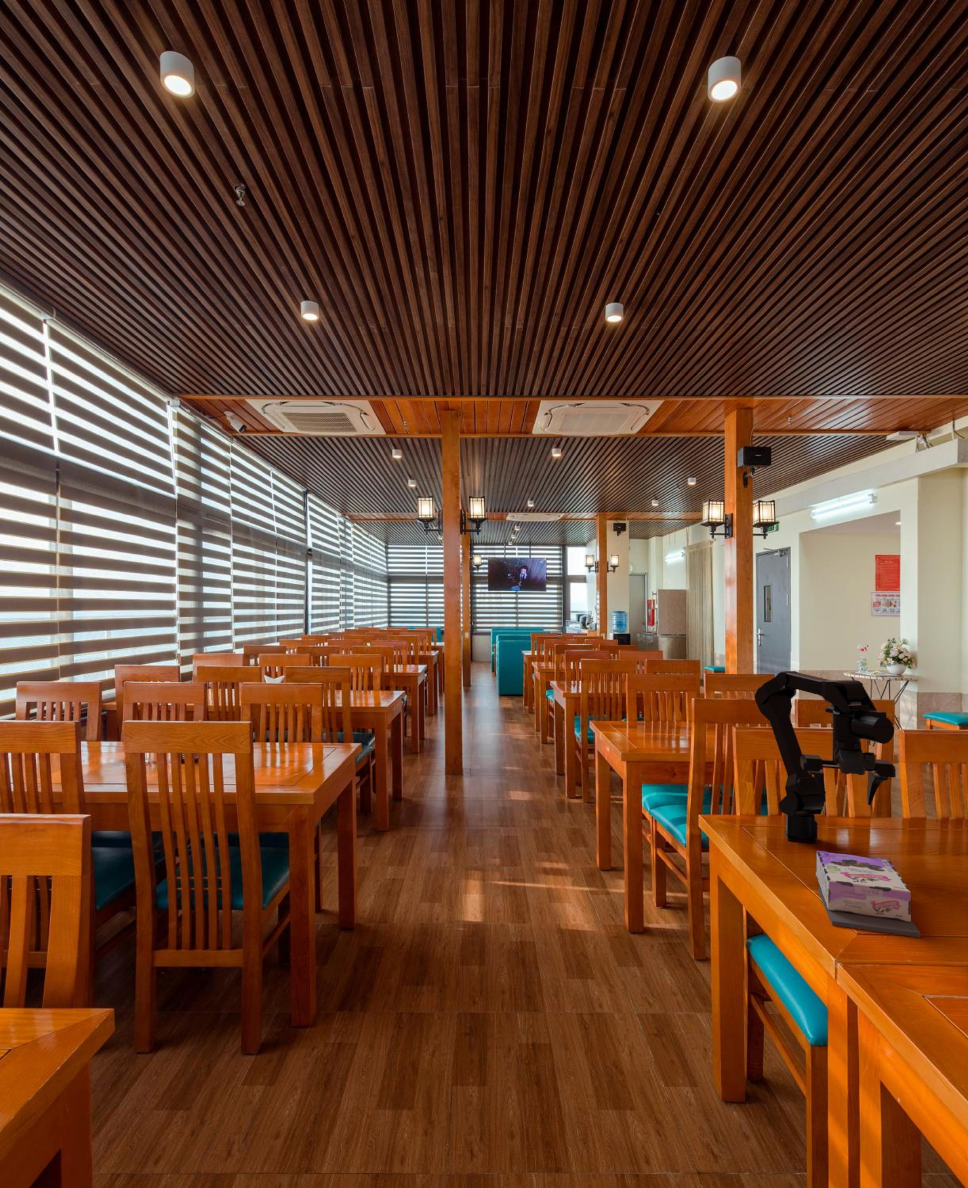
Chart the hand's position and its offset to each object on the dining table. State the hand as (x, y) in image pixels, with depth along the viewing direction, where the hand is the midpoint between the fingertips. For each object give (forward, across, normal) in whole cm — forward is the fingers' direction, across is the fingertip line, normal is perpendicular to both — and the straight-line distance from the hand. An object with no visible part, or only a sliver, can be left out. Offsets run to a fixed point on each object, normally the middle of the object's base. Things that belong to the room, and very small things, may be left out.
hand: (846, 802), depth 154 cm
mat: (+13, -2, -28) cm, 31 cm away
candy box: (+9, -2, -16) cm, 18 cm away
